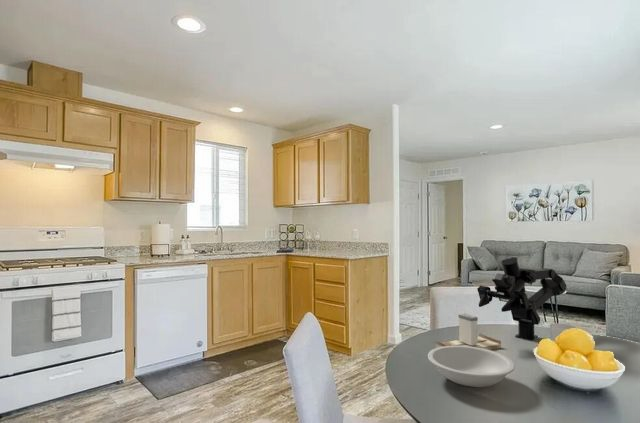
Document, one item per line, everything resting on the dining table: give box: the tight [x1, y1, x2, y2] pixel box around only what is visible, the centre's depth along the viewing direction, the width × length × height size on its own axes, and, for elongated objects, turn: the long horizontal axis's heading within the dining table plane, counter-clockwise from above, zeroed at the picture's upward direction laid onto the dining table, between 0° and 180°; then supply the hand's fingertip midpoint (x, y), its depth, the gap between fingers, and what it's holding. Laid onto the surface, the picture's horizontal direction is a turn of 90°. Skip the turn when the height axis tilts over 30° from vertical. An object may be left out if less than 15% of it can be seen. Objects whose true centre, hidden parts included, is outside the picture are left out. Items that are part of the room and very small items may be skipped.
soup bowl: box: [427, 346, 516, 388], centre depth 112 cm, size 24×24×7 cm
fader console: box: [435, 333, 502, 351], centre depth 141 cm, size 22×10×2 cm, turn 113°
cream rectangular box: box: [458, 313, 479, 346], centre depth 141 cm, size 3×6×10 cm, turn 23°
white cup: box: [549, 322, 577, 341], centre depth 134 cm, size 8×8×10 cm
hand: (490, 308), depth 141 cm, fingers open, 9 cm apart
